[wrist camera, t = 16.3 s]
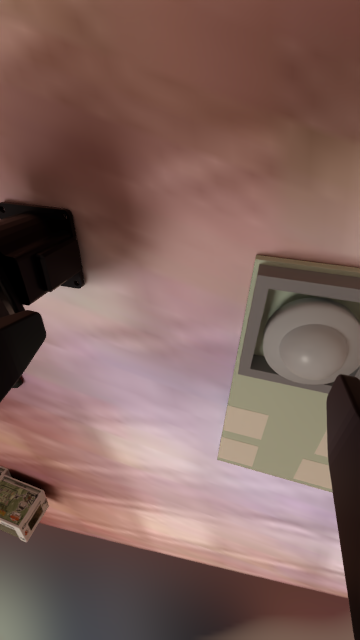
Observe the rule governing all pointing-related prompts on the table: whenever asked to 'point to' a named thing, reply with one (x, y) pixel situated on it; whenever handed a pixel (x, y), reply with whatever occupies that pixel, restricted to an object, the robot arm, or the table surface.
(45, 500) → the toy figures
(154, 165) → the table surface
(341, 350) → the dome
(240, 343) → the board
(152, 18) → the table surface
